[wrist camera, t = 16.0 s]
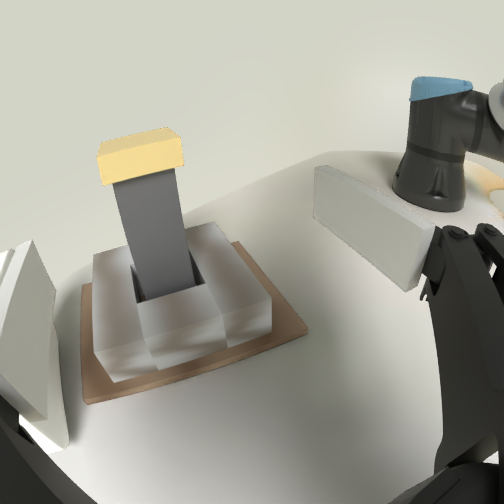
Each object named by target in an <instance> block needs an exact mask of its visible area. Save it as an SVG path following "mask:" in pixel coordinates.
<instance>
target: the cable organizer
mask: <svg viewBox="0 0 504 504" xmlns="http://www.w3.org/2000/svg"><path fill="white" fill-rule="evenodd" d="M14 253H15V250H13V249H9V250H7V251H5V252H2V253H0V287H1V284H2V281H3V279H4V276H5V274H6V271H7V269H8V267H9V264H10V262H11V260H12V257H13V255H14ZM47 414H48V420H43V421H37V422H29V421H28V420H26V419H25V418H24V417H23V416H22V415H21V414H19V424H20V425H22V426H23V427H24V428H25V429H26V430H27V431H28V433H29V434H30V435H31V436H32V438H33V439H34V440H35V441H36V442H37V444H38V445H39V446H40V447H41V448H42V449H43V451H44V452H45V453H53V452H57V451H62V450H66V449H67V447H68V444H69V435H68V428H67V422H66V416H65V410H64V403H63V395H62V387H61V377H60V365H59V350H58V338H57V333H56V329H55V326H54V323H53V321H52V325H51V335H50V346H49V360H48V383H47Z"/></svg>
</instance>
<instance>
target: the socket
mask: <svg viewBox="0 0 504 504" xmlns="http://www.w3.org/2000/svg"><path fill="white" fill-rule="evenodd" d="M184 230H185V235H186V241H187V246H188V251H189V256H190V262H191V267H192V272H193V276H194V281H195V287H192V288H189V289H185V290H182V291H179V292H175V293H172V294H168V295H165V296H162V297H158V298H155V299H151V300H148V301H146V298H145V295H144V292H143V289H142V286H141V283H140V280H139V277H138V274H137V271H136V268H135V265H134V262H133V258H132V255H131V252H130V248H129V245H125V246H122V247H118V248H115V249H112V250H108V251H105V252H101V253H98V254H94V255H93V256H94V257H93V280H92V283H89V284H85V285H82V296H81V333H80V337H81V374H82V389H83V400H84V401H85V402H86V404H87V405H89V404H94V403H98V402H102V401H107V400H111V399H115V398H119V397H123V396H127V395H131V394H135V393H138V392H142V391H146V390H149V389H153V388H156V387H160V386H163V385H167V384H170V383H173V382H177V381H180V380H183V379H186V378H189V377H193V376H196V375H199V374H202V373H205V372H208V371H211V370H214V369H217V368H220V367H222V366H225V365H228V364H231V363H234V362H236V361H239V360H242V359H245V358H247V357H250V356H253V355H255V354H258V353H261V352H263V351H266V350H268V349H271V348H273V347H276V346H278V345H281V344H283V343H286V342H288V341H291V340H293V339H296V338H298V337H300V336H303V335H305V334H307V331H308V327H307V326H306V325H305V323H304V322H303V321H302V320H301V318H300V317H299V316H298V315H297V313H296V312H295V311H294V310H293V308H292V307H291V306H290V305H289V303H288V302H287V301H286V300H285V299H284V297H283V296H282V295H281V294H280V292H279V291H278V290H277V289H276V287H275V286H274V285H273V284H272V282H271V281H270V280H269V279H268V277H267V276H266V275H265V274H264V272H263V271H262V270H261V269H260V267H259V266H258V265H257V264H256V262H255V261H254V260H253V259H252V257H251V256H250V255H249V254H248V253H247V251H246V250H245V249H244V248H243V246H242V245H241V244H240V243H239V241H237V242H233V243H230V242H229V241H228V239H227V238H226V237H225V235H224V234H223V233H222V231H221V230H220V229H219V227H218V226H217V225H216V223H215V222H211V223H207V224H203V225H199V226H195V227H191V228H187V229H184Z"/></svg>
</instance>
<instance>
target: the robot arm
mask: <svg viewBox="0 0 504 504" xmlns="http://www.w3.org/2000/svg"><path fill="white" fill-rule="evenodd" d="M472 89H473V86H472V83H471V82H469V81H465V80H459V79H450V78H441V77H417V78H415V79H414V80H413V81H412V86H411V97H410V99H409V101H411V103H410V117H409V128H408V137H407V147H406V152H405V154H404V156H403V158H402V160H401V162H400V165H399V167H398V169H397V171H396V173H395V175H394V180H393V190H394V191H395V192H396V193H397V194H398V195H399V196H400V197H402V198H403V199H405V200H407V201H409V202H411V203H413V204H415V205H418V206H421V207H424V208H427V209H431V210H436V211H442V212H455V211H459V210H461V209H462V208H463V205H464V201H465V196H466V193H465V179H464V169H463V164H464V158H465V152H466V151H468V152H472V153H475V154H479V155H482V156H485V157H488V158H491V159H494V160H497V161H500V162H503V163H504V80H503V82H502V83H498V84H496V85H494V86H493V87H492V88H491V90H490V92H489V95H488V94H485V93H481V92H477V91H474V90H472ZM313 218H314V219H315V220H317V221H318V222H319V223H321V224H322V225H323V226H325V227H326V228H327V229H328V230H330V231H331V232H332V233H334V234H335V235H336V236H337V237H339V238H340V239H341V240H343V241H344V242H345V243H346V244H348V245H349V246H350V247H351V248H353V249H354V250H355V251H356V252H358V253H359V254H360V255H361V256H362V257H364V258H365V259H366V260H367V261H369V262H370V263H371V264H372V265H373V266H375V267H376V268H377V269H378V270H379V271H381V272H382V273H383V274H384V275H385V276H387V277H388V278H389V279H390V280H391V281H393V282H394V283H395V284H396V285H397V286H398V287H400V288H401V289H402V290H403V291H404V292H405V293H406V292H407V291H409V290H411V289H413V288H415V287H416V286H418V283H419V280H420V277H421V274H422V273H423V274H424V275H425V276H426V277H427V279H426V282H425V284H424V287H423V290H422V293H421V295H420V300H421V301H422V300H423V297H424V295H425V294H427V298H426V301H428V302H429V307H430V312H431V318H432V324H433V329H434V336H435V342H436V349H437V357H438V365H439V374H440V384H441V397H442V414H443V438H442V441H441V443H440V446H439V448H438V450H437V453H436V457H435V465H434V475H433V476H432V477H430V478H428V479H426V480H425V481H423V482H421V483H419V484H417V485H416V486H414V487H412V488H410V489H408V490H406V491H405V492H404V493H402V494H401V495H400V496H398V497H397V498H396V499H394V500H393V501H391V502H390V503H389V504H504V235H503V234H502V233H501V232H500V231H499V230H498V229H496V228H495V227H494V226H493V225H489V224H487V223H486V224H484V223H480V224H478V225H477V228H476V231H475V234H473V235H469V234H468V233H467V232H466V231H465V230H463V229H461V228H459V227H456V226H449V225H447V226H444V227H443V228H442V229H441V228H439V227H438V226H436V225H435V224H433V223H432V222H430V221H429V220H427V219H425V218H424V217H422V216H420V215H419V214H417V213H415V212H414V211H412V210H410V209H409V208H407V207H405V206H404V205H402V204H400V203H398V202H397V201H395V200H393V199H391V198H390V197H388V196H386V195H384V194H382V193H381V192H379V191H377V190H375V189H373V188H371V187H370V186H368V185H366V184H364V183H362V182H360V181H358V180H356V179H354V178H352V177H350V176H348V175H347V174H345V173H343V172H341V171H339V170H337V169H334V168H332V167H330V166H328V165H326V166H319V167H315V183H314V209H313ZM493 262H494V264H495V265H496V266H497V268H496V270H495V273H494V275H493V277H492V278H491V276H490V273H489V271H490V269H491V267H492V264H493ZM55 296H56V289H55V287H54V285H53V283H52V281H51V280H50V277H49V276H48V273H47V271H46V269H45V267H44V265H43V263H42V260H41V258H40V256H39V254H38V251H37V249H36V247H35V244H34V242H33V240H30V241H27V242H24V243H21V244H19V245H18V247H17V249H16V251H15V253H14V255H13V257H12V260H11V262H10V264H9V267H8V269H7V271H6V274H5V276H4V279H3V281H2V284H1V287H0V504H97V503H96V502H95V501H94V500H93V499H92V498H90V497H89V496H88V495H87V494H86V493H85V492H84V491H83V490H82V489H80V488H79V487H78V486H77V485H76V484H75V483H74V482H73V481H72V480H71V479H70V478H69V477H68V476H67V475H66V474H65V473H64V472H63V471H62V470H61V469H60V468H59V467H58V466H57V465H56V464H55V463H54V462H53V461H52V460H51V458H50V457H49V456H48V455H47V454H46V453H45V452H44V451H43V449H42V448H41V447H40V446H39V445H38V444H37V442H36V441H35V440H34V439H33V438H32V436H31V435H30V434H29V433H28V431H27V430H26V429H25V428H24V427H23V426H22V425H20V424H19V414H21V415H22V416H23V417H24V418H25V419H26V420H28V421H29V422H37V421H43V420H48V414H47V383H48V360H49V346H50V335H51V325H52V317H53V309H54V302H55ZM497 451H498V455H499V464H492V463H483V461H484V460H485V459H486V458H488V457H489V456H491V455H492V454H494V453H495V452H497Z"/></svg>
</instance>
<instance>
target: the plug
mask: <svg viewBox="0 0 504 504" xmlns="http://www.w3.org/2000/svg"><path fill="white" fill-rule="evenodd" d="M97 161H98V166H99V170H100V175H101V179H102V183H103V186H104V185H108V184H113V188H114V193H115V197H116V200H117V204H118V209H119V213H120V216H121V220H122V224H123V228H124V231H125V235H126V238H127V242H128V245H129V248H130V252H131V255H132V258H133V262H134V265H135V268H136V271H137V274H138V277H139V280H140V283H141V286H142V289H143V292H144V295H145V298H146V301H148V300H151V299H155V298H158V297H162V296H165V295H168V294H172V293H175V292H179V291H182V290H185V289H189V288H192V287H195V281H194V276H193V272H192V267H191V262H190V256H189V251H188V246H187V241H186V235H185V230H184V224H183V219H182V213H181V207H180V202H179V195H178V189H177V182H176V176H175V169H174V168H175V167H180V166H184V161H183V153H182V145H181V138H180V136H178V135H177V134H176V133H174V132H173V131H172V130H170V129H169V128H168V127H166V128H160V129H155V130H151V131H147V132H142V133H138V134H133V135H129V136H125V137H121V138H117V139H114V140H109V141H106V142H102V143H101V145H100V148H99V151H98V154H97Z"/></svg>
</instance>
